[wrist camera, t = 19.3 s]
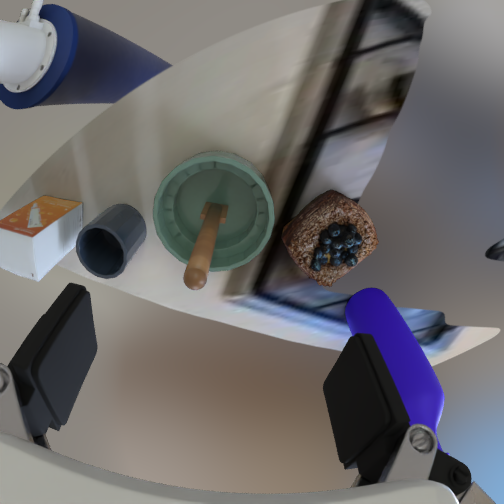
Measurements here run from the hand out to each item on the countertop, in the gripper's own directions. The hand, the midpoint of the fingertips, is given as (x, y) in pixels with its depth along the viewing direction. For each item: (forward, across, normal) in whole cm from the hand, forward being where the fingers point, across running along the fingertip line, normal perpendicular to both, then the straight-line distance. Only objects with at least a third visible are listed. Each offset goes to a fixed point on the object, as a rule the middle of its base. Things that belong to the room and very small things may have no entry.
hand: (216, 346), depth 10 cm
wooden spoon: (+30, +1, +5) cm, 30 cm away
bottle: (+30, -26, +17) cm, 43 cm away
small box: (+31, +26, +11) cm, 42 cm away
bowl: (+30, +2, +5) cm, 31 cm away
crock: (+31, +14, +11) cm, 36 cm away
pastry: (+30, -14, +6) cm, 34 cm away
